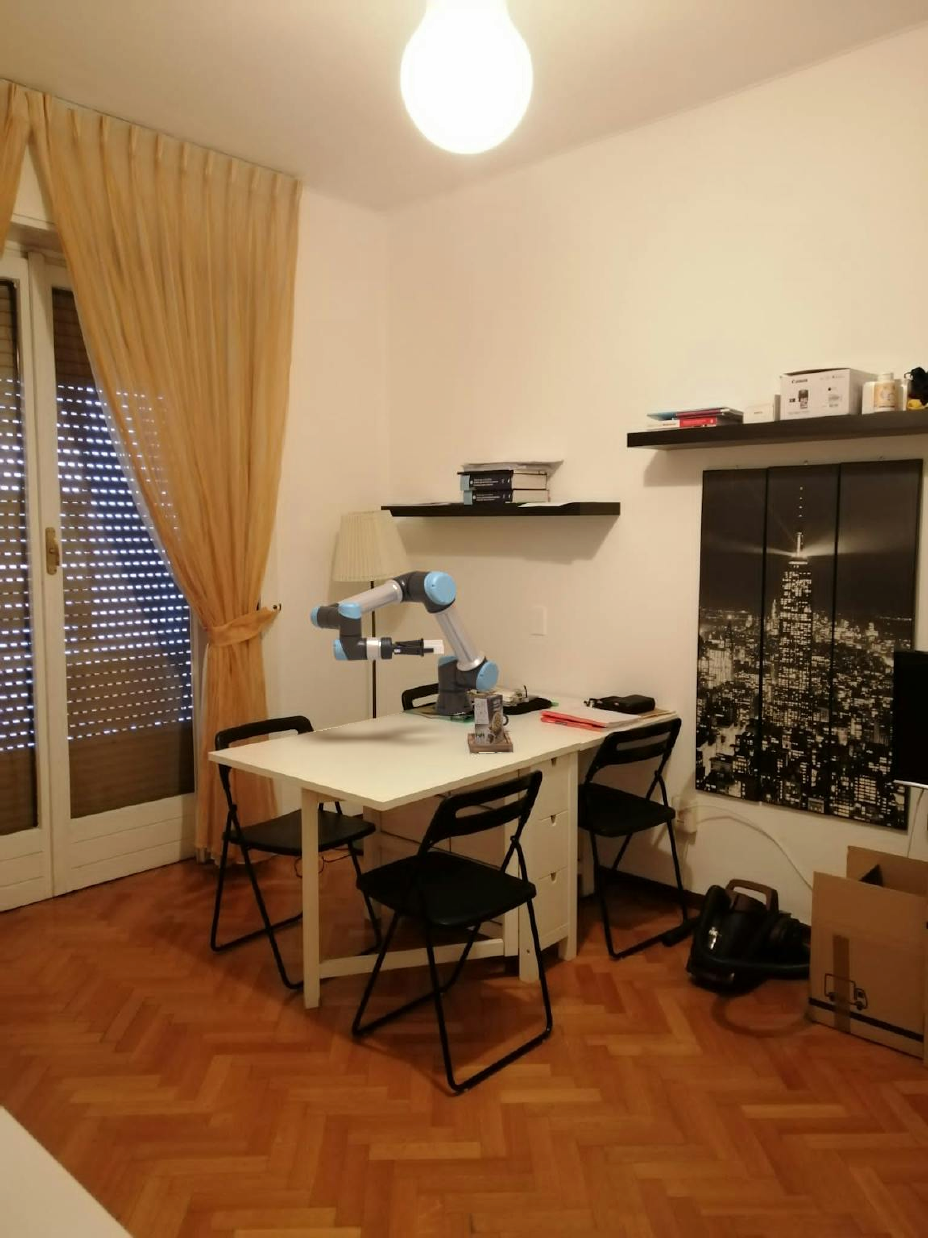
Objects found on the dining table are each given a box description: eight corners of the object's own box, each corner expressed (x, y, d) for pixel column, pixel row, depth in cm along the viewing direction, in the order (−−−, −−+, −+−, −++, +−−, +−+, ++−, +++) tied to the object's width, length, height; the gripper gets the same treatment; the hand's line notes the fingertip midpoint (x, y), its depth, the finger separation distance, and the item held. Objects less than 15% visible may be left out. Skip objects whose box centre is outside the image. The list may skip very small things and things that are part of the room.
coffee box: (491, 746, 301) (490, 699, 299) (474, 744, 305) (473, 697, 303) (504, 740, 309) (503, 694, 307) (487, 738, 312) (486, 692, 311)
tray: (467, 740, 315) (467, 733, 315) (507, 739, 316) (507, 731, 316) (470, 754, 297) (470, 746, 297) (513, 752, 298) (513, 744, 298)
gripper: (382, 653, 318) (442, 652, 319) (379, 665, 293) (444, 663, 294) (381, 632, 317) (442, 630, 318) (378, 642, 292) (444, 640, 293)
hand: (443, 646), depth 306 cm, fingers open, 13 cm apart
